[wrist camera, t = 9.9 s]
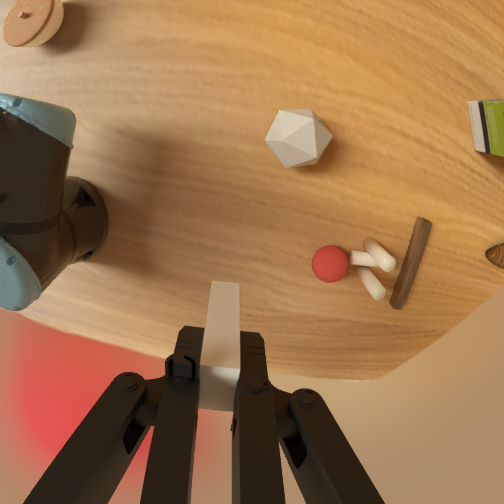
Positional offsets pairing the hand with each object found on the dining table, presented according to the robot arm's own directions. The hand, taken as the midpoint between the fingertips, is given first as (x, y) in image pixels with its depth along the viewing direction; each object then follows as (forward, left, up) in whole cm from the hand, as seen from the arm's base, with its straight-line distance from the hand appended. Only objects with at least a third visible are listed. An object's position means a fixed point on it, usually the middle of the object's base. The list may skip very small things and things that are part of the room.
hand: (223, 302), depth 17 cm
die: (+8, +9, -33) cm, 35 cm away
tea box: (+48, +23, -33) cm, 62 cm away
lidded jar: (-37, +28, -33) cm, 57 cm away
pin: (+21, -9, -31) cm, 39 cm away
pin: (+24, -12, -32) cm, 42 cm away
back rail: (+34, -9, -32) cm, 48 cm away
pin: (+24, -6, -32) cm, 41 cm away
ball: (+17, -10, -29) cm, 35 cm away
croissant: (+62, -3, -33) cm, 70 cm away
